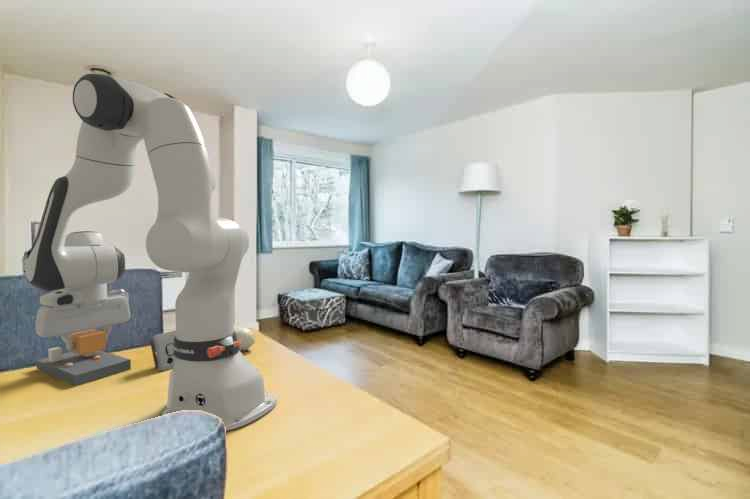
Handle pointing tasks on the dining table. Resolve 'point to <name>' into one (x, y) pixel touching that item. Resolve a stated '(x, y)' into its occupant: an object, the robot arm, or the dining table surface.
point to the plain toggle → (55, 354)
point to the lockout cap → (88, 341)
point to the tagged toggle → (89, 354)
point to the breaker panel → (84, 367)
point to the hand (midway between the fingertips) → (87, 345)
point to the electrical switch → (163, 350)
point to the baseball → (245, 338)
